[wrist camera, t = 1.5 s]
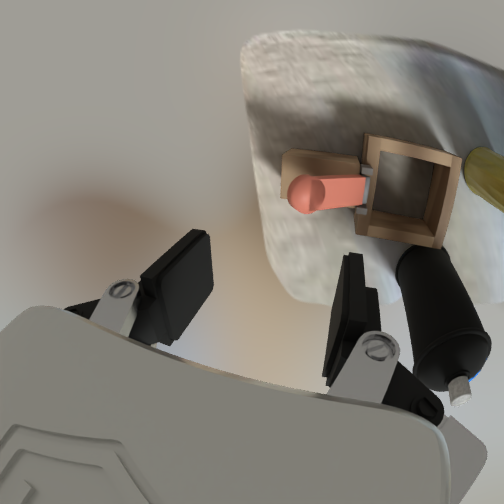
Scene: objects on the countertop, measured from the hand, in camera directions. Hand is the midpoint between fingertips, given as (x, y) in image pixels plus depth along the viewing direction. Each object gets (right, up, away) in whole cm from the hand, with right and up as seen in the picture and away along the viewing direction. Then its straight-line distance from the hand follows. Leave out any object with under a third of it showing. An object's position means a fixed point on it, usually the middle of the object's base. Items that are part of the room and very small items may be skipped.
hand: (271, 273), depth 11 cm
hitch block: (+12, +9, +16) cm, 22 cm away
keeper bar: (+6, +6, +11) cm, 14 cm away
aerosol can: (+22, -1, +19) cm, 29 cm away
